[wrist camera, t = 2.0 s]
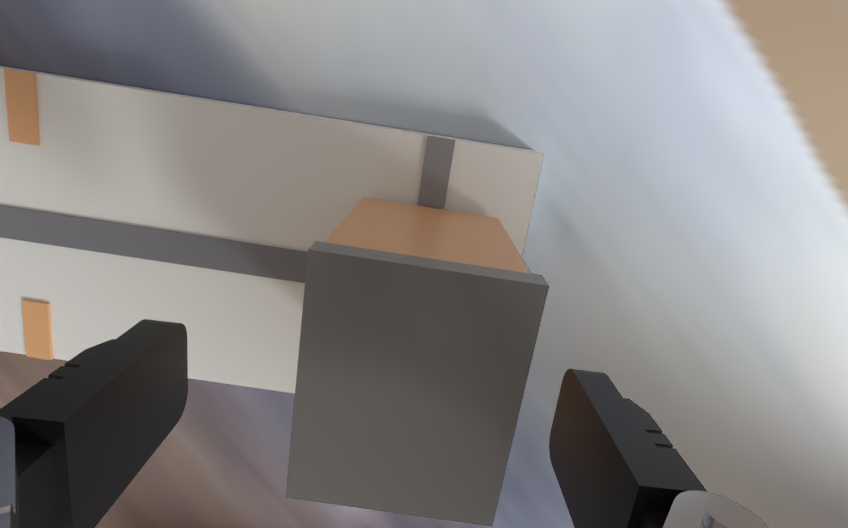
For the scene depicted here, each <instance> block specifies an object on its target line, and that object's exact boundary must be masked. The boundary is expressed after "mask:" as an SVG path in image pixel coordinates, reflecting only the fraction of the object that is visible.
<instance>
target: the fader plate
mask: <svg viewBox="0 0 848 528" xmlns="http://www.w3.org/2000/svg"><path fill="white" fill-rule="evenodd" d="M543 156H544V154H543V153H540V152H537V151H535V150H529V149H523V148H517V147H510V146H504V145H498V144H491V143H485V142H479V141H472V140H466V139H460V138H454V137H447V136H441V135H435V134H428V133H422V132H416V131H409V130H403V129H397V128H390V127H384V126H378V125H371V124H365V123H359V122H353V121H346V120H340V119H334V118H327V117H321V116H315V115H308V114H302V113H296V112H289V111H283V110H277V109H271V108H264V107H258V106H252V105H245V104H239V103H233V102H226V101H220V100H214V99H207V98H201V97H195V96H188V95H182V94H176V93H170V92H163V91H157V90H151V89H144V88H138V87H132V86H125V85H119V84H113V83H106V82H100V81H94V80H87V79H81V78H75V77H69V76H62V75H56V74H50V73H43V72H37V71H31V70H24V69H18V68H12V67H5V66H0V351H5V352H12V353H18V354H25V355H26V357H32V358H39V359H46V360H52V359H60V360H67V361H69V360H71V359H72V358H74V357H75V356H76V355H78V354H79V353H81V352H82V351H84V350H85V349H88V348H90V347H93V346H95V345H98V344H101V343H103V342H106V341H108V340H111V339H117V338H118V337H119V336H121V335H122V334H123V333H125V332H126V331H128V330H129V329H130V328H132V327H133V326H134V325H136V324H137V323H138V322H140V321H141V320H143V319H149V320H158V321H166V322H175V323H182V324H184V326H185V327H186V330H187V359H188V378H191V379H198V380H205V381H212V382H219V383H226V384H232V385H239V386H246V387H253V388H260V389H267V390H274V391H281V392H288V393H295V388H296V377H297V365H298V354H299V343H300V332H301V321H302V310H303V299H304V288H305V277H306V266H307V255H308V249H309V248H310V247H311V246H312V244H313V243H314V242H315V241H320V242H325V241H326V240H327V239H328V238H329V237H330V235H331V234H332V233H333V232H334V231H335V230H336V228H337V227H338V226H339V225H340V224H341V223H342V221H343V220H344V219H345V218H346V217H347V215H348V214H349V213H350V212H351V211H352V210H353V208H354V207H355V206H356V205H357V204H358V203H359V201H360V200H361V199H362V198H363V197H366V198H373V199H379V200H386V201H392V202H398V203H405V204H411V205H418V206H424V207H431V208H437V209H444V210H450V211H457V212H463V213H469V214H476V215H482V216H489V217H495V218H498V219H499V221H500V222H501V224H502V225H503V227H504V229H505V230H506V232H507V234H508V235H509V237H510V239H511V240H512V242H513V244H514V245H515V247H516V248H517V250H518V252H519V253H520V255H521V257H522V253H523V249H524V244H525V239H526V235H527V230H528V226H529V221H530V216H531V212H532V207H533V202H534V198H535V193H536V189H537V184H538V179H539V175H540V170H541V165H542V161H543Z"/></svg>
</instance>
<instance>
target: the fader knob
mask: <svg viewBox="0 0 848 528" xmlns="http://www.w3.org/2000/svg"><path fill="white" fill-rule="evenodd" d="M548 288H549V285H548V284H547V282H546V281H545V279H544V278H543V276H542V275H536V274H532V273H531V272H530V270H529V268H528V267H527V265H526V263H525V262H524V260H523V258H522V257H521V255H520V253H519V252H518V250H517V248H516V247H515V245H514V244H513V242H512V240H511V239H510V237H509V235H508V234H507V232H506V230H505V229H504V227H503V225H502V224H501V222H500V221H499V219H498V218H495V217H489V216H482V215H476V214H469V213H463V212H457V211H450V210H444V209H437V208H431V207H424V206H418V205H411V204H405V203H398V202H392V201H386V200H379V199H373V198H366V197H363V198H362V199H361V200H360V201H359V203H358V204H357V205H356V206H355V207H354V208H353V210H352V211H351V212H350V213H349V214H348V215H347V217H346V218H345V219H344V220H343V221H342V223H341V224H340V225H339V226H338V227H337V228H336V230H335V231H334V232H333V233H332V234H331V235H330V237H329V238H328V239H327V240H326V241H325V242H320V241H315V242H314V243H313V244H312V246H311V247H310V248H309V249H308V255H307V266H306V277H305V288H304V299H303V310H302V321H301V332H300V343H299V354H298V365H297V377H296V388H295V399H294V410H293V421H292V432H291V443H290V454H289V465H288V476H287V487H286V498H293V499H301V500H308V501H315V502H322V503H329V504H336V505H344V506H351V507H358V508H365V509H372V510H379V511H386V512H394V513H401V514H408V515H415V516H422V517H429V518H437V519H444V520H451V521H458V522H465V523H472V524H479V525H487V526H492V525H493V521H494V517H495V512H496V508H497V504H498V500H499V495H500V491H501V487H502V483H503V478H504V474H505V470H506V466H507V461H508V457H509V453H510V449H511V444H512V440H513V436H514V432H515V428H516V423H517V419H518V415H519V411H520V406H521V402H522V398H523V394H524V389H525V385H526V381H527V377H528V372H529V368H530V364H531V360H532V355H533V351H534V347H535V343H536V339H537V334H538V330H539V326H540V322H541V317H542V313H543V309H544V305H545V300H546V296H547V292H548Z"/></svg>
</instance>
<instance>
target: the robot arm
mask: <svg viewBox="0 0 848 528" xmlns="http://www.w3.org/2000/svg"><path fill="white" fill-rule="evenodd" d="M187 393H188V359H187V330H186V327H185V326H184V324H182V323H175V322H166V321H158V320H149V319H143V320H141V321H140V322H138V323H137V324H136V325H134V326H133V327H132V328H130V329H129V330H128V331H126V332H125V333H123V334H122V335H121V336H119V337H118V338H117V339H111V340H108V341H106V342H103V343H101V344H98V345H95V346H93V347H90V348H88V349H85V350H84V351H82V352H81V353H79V354H78V355H76V356H75V357H74V358H72V359H71V360H69V361H68V362H67V363H65V366H61V367H59V368H58V369H57V370H55V371H54V372H52V373H51V374H49V377H48V378H44V379H42V380H41V381H40V382H38V383H37V384H35V385H34V386H32V387H31V388H30V389H28V390H27V391H25V392H24V393H23V394H21V395H20V396H18V397H17V398H15V399H14V400H13V401H11V402H10V403H8V404H7V405H5V406H4V407H3V408H1V409H0V528H95V526H96V525H97V524H98V523H99V521H100V520H101V519H102V517H103V516H104V515H105V514H106V512H107V511H108V510H109V509H110V507H111V506H112V505H113V504H114V502H115V501H116V500H117V499H118V497H119V496H120V495H121V493H122V492H123V491H124V490H125V488H126V487H127V486H128V485H129V483H130V482H131V481H132V480H133V478H134V477H135V476H136V474H137V473H138V472H139V471H140V469H141V468H142V467H143V466H144V464H145V463H146V462H147V461H148V459H149V458H150V457H151V455H152V454H153V453H154V452H155V450H156V449H157V448H158V447H159V445H160V444H161V443H162V442H163V440H164V439H165V438H166V436H167V435H168V434H169V433H170V431H171V430H172V429H173V428H174V426H175V425H176V424H177V422H178V421H179V419H180V418H181V416H182V413H183V411H184V408H185V405H186V400H187ZM672 446H673V445H672V444H671V442H670V441H669V440H668V438H667V437H666V436H665V435H664V434H662V430H661V429H660V428H659V426H658V425H657V424H656V422H655V421H654V420H653V418H652V417H651V416H650V414H648V413H647V412H646V411H644V410H643V409H642V408H641V407H639V406H638V405H637V404H635V403H634V402H633V401H631V400H630V399H625V398H623V397H622V396H621V395H620V393H619V392H618V390H617V389H616V387H615V386H614V384H613V383H612V382H611V380H610V379H609V377H608V376H607V375H606V374H605V373H601V372H592V371H584V370H575V369H568V370H567V371H566V373H565V375H564V377H563V381H562V385H561V389H560V394H559V398H558V402H557V407H556V411H555V415H554V420H553V424H552V428H551V433H550V444H549V448H550V459H551V463H552V466H553V469H554V471H555V474H556V477H557V480H558V482H559V485H560V488H561V491H562V494H563V496H564V499H565V502H566V505H567V507H568V510H569V513H570V516H571V518H572V521H573V524H574V527H575V528H769V527H768V526H767V525H766V524H765V523H764V522H763V521H762V520H761V519H760V518H759V517H757V516H756V515H755V514H753V513H752V512H751V511H749V510H748V509H746V508H745V507H743V506H741V505H740V504H738V503H736V502H734V501H732V500H730V499H727V498H725V497H723V496H720V495H717V494H714V493H709V492H707V491H706V489H705V488H704V487H703V485H702V484H701V483H700V481H699V480H698V479H697V477H696V476H695V475H694V473H693V472H692V471H691V469H690V468H689V467H688V465H687V464H686V463H685V461H684V460H683V459H682V457H681V456H680V455H679V453H678V452H677V451H676V449H673V447H672Z"/></svg>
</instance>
